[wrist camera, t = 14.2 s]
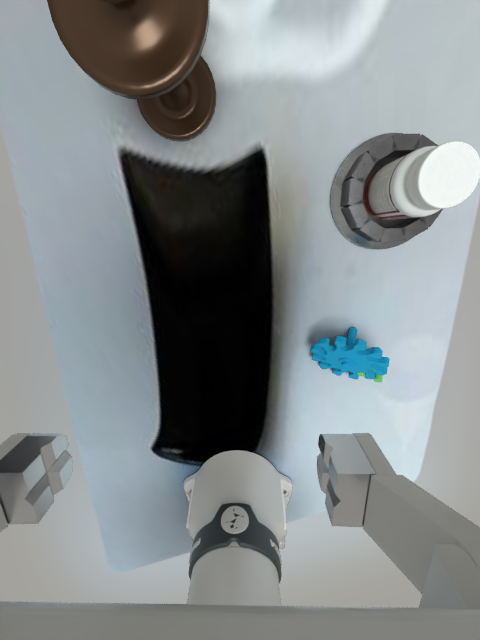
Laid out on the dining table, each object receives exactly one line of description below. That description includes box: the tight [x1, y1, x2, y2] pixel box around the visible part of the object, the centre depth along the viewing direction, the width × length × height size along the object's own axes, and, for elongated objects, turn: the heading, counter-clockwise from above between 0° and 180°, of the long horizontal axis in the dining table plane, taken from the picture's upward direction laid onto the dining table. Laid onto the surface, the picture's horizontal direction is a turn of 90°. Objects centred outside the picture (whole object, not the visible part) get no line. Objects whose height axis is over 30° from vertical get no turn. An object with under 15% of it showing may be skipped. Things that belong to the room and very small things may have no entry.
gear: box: [310, 327, 389, 382], centre depth 39 cm, size 11×6×10 cm
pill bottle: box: [362, 141, 480, 220], centre depth 29 cm, size 6×6×11 cm
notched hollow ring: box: [330, 133, 443, 249], centre depth 33 cm, size 13×13×4 cm
